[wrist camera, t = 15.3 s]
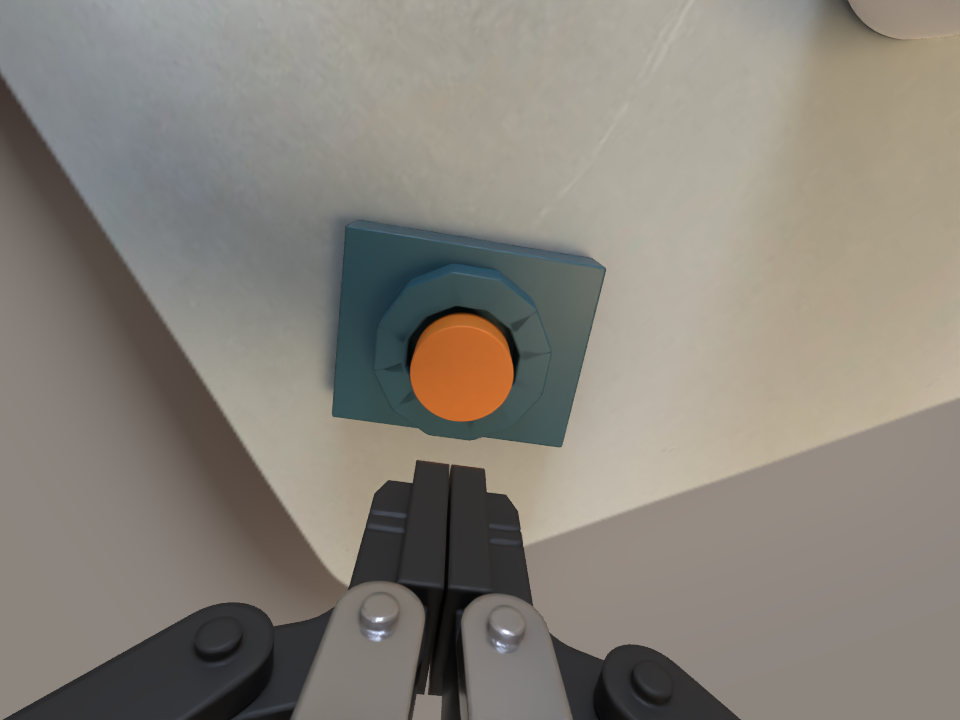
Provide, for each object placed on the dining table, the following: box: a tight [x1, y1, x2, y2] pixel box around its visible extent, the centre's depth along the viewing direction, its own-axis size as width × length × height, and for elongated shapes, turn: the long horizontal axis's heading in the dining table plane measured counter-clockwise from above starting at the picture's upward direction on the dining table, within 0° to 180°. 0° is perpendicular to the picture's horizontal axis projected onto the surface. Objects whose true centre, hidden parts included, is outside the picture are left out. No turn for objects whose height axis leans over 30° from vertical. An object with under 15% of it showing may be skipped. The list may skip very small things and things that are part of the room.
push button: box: [410, 312, 514, 422], centre depth 19 cm, size 4×4×2 cm
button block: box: [332, 220, 606, 447], centre depth 21 cm, size 10×8×4 cm
